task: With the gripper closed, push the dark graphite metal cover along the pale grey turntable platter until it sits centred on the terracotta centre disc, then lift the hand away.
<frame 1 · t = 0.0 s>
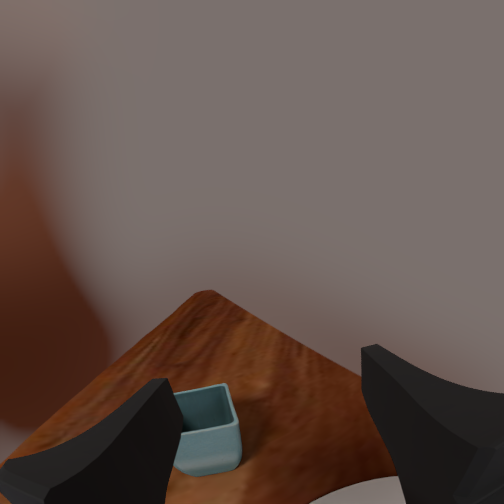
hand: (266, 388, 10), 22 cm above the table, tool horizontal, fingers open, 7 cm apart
flower pot: (214, 462, 30), on the table
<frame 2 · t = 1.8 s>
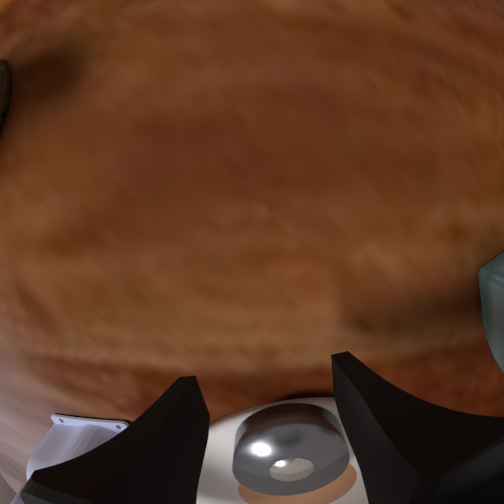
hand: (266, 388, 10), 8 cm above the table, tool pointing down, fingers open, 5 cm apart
cast cover: (288, 440, 19), point 2 cm above the table, touching turntable
turntable: (296, 477, 22), on the table
flower pot: (498, 282, 18), on the table
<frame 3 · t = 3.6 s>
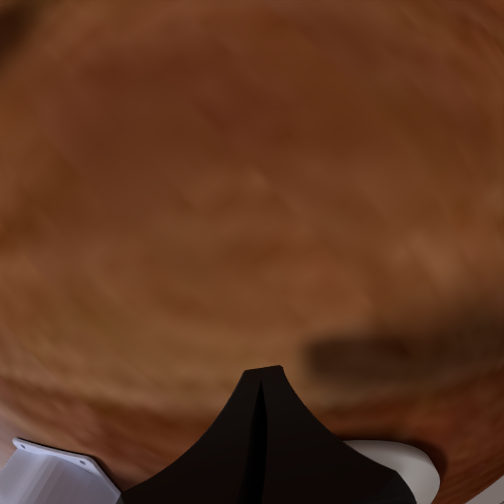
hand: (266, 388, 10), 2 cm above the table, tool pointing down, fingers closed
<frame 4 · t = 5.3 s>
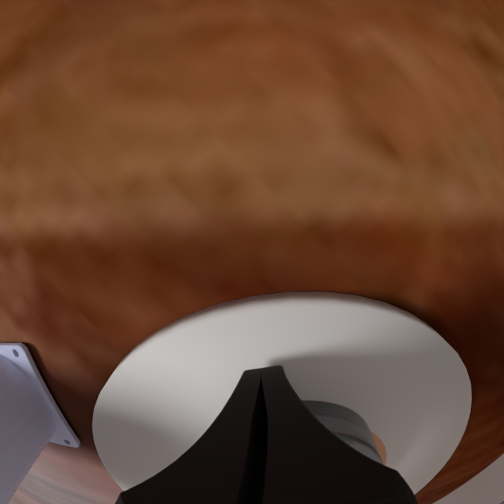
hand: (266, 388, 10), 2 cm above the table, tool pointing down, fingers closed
cast cover: (291, 456, 12), point 2 cm above the table, touching gripper, turntable
turntable: (287, 464, 14), on the table
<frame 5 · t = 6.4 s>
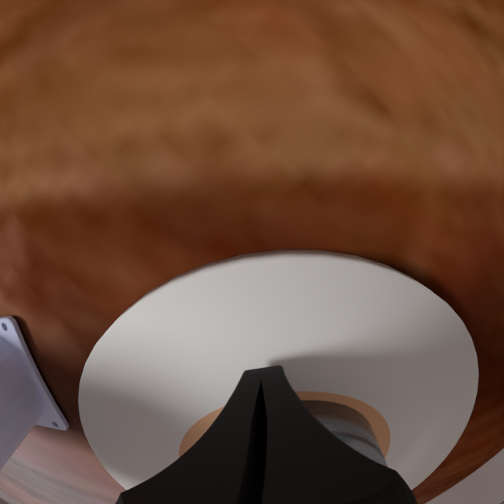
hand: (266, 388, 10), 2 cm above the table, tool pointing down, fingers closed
cast cover: (294, 456, 12), point 1 cm above the table, touching turntable
turntable: (285, 447, 14), on the table
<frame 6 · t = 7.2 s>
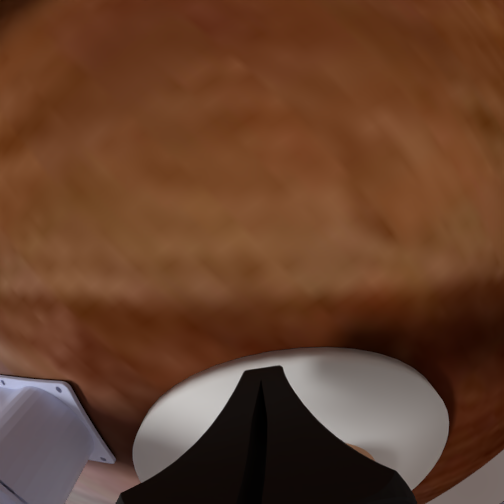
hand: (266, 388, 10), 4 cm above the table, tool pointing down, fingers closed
turntable: (294, 472, 17), on the table
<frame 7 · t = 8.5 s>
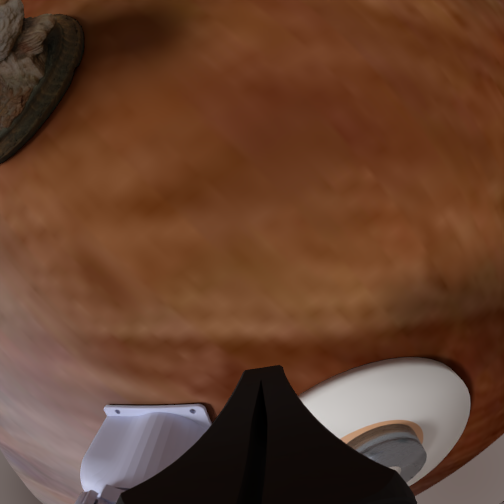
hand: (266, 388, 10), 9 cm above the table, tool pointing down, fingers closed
cast cover: (375, 453, 21), point 1 cm above the table, touching turntable
turntable: (366, 449, 23), on the table
owl figurine: (8, 97, 16), on the table
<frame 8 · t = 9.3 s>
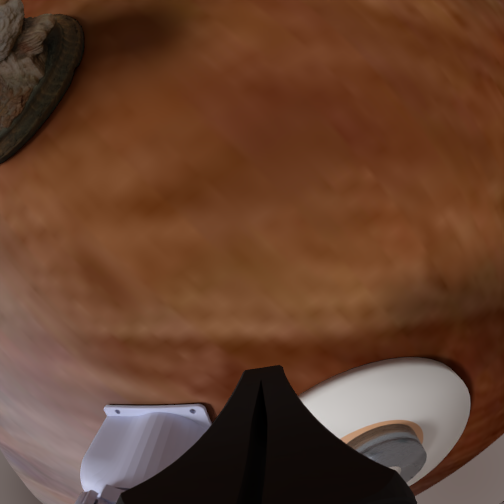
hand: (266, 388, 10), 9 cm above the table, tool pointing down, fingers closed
cast cover: (375, 453, 21), point 1 cm above the table, touching turntable
turntable: (366, 449, 23), on the table
owl figurine: (8, 97, 16), on the table
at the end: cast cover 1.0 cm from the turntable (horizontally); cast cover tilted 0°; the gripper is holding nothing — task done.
